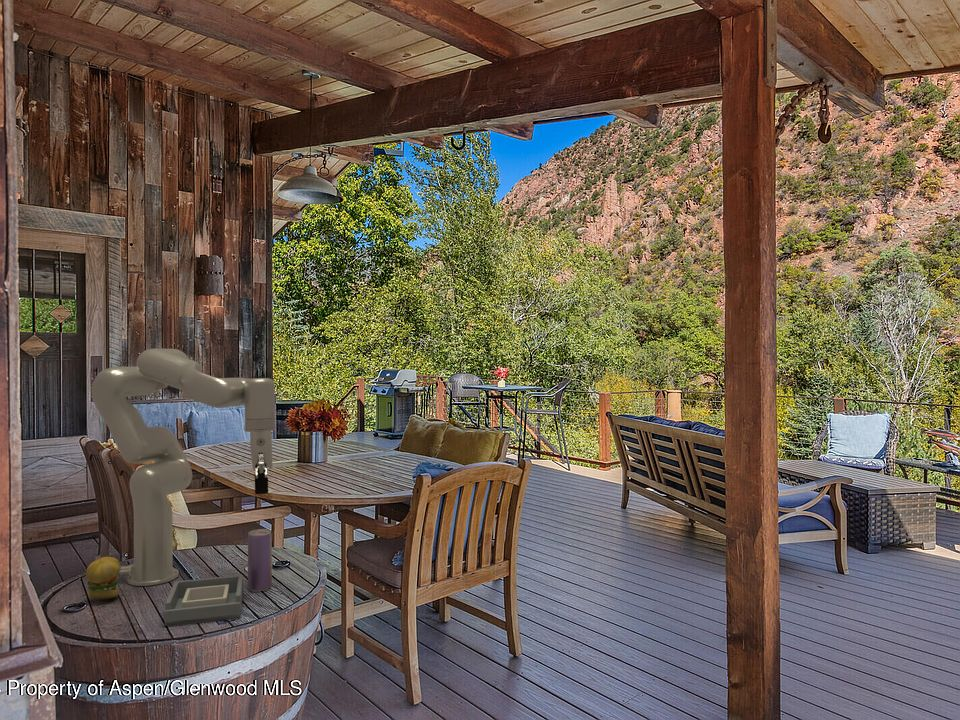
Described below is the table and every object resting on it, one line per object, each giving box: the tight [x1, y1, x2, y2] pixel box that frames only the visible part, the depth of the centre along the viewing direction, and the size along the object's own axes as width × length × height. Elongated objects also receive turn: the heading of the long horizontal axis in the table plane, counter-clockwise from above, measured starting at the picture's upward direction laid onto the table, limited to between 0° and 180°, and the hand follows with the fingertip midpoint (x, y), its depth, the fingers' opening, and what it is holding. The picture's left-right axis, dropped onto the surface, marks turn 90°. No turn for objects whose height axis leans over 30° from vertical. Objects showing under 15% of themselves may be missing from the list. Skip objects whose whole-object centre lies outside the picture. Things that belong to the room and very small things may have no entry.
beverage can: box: [247, 528, 273, 593], centre depth 168 cm, size 6×6×15 cm
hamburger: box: [85, 555, 122, 600], centre depth 160 cm, size 8×7×12 cm
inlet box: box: [163, 574, 244, 627], centre depth 154 cm, size 16×16×5 cm
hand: (261, 490), depth 168 cm, fingers open, 9 cm apart
